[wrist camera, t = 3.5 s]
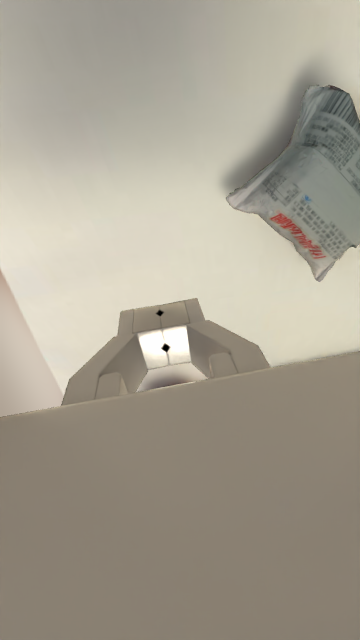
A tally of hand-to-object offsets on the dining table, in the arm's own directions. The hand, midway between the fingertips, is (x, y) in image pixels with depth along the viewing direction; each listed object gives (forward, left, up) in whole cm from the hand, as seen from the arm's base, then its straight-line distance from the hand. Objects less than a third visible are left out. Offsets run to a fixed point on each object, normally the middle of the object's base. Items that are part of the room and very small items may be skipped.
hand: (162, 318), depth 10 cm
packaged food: (0, +13, -14) cm, 19 cm away
